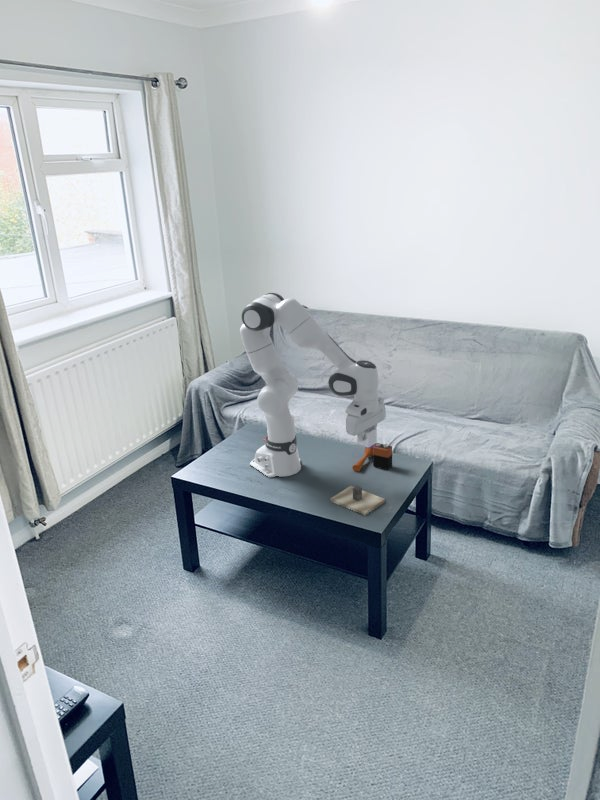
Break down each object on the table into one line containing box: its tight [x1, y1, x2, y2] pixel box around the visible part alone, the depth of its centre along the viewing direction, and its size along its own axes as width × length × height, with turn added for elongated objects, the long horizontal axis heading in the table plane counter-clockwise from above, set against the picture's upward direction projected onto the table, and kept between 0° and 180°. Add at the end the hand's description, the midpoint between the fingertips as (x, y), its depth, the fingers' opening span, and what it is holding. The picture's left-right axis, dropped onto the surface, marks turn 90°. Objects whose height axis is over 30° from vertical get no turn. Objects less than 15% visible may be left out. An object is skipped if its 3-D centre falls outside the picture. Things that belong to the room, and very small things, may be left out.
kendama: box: [352, 443, 377, 473], centre depth 255 cm, size 6×6×20 cm
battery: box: [372, 442, 393, 471], centre depth 249 cm, size 4×7×10 cm, turn 57°
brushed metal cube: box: [356, 427, 378, 448], centre depth 232 cm, size 5×5×6 cm
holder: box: [329, 485, 386, 516], centre depth 225 cm, size 16×12×6 cm
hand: (366, 437), depth 233 cm, fingers closed on brushed metal cube, 5 cm apart
